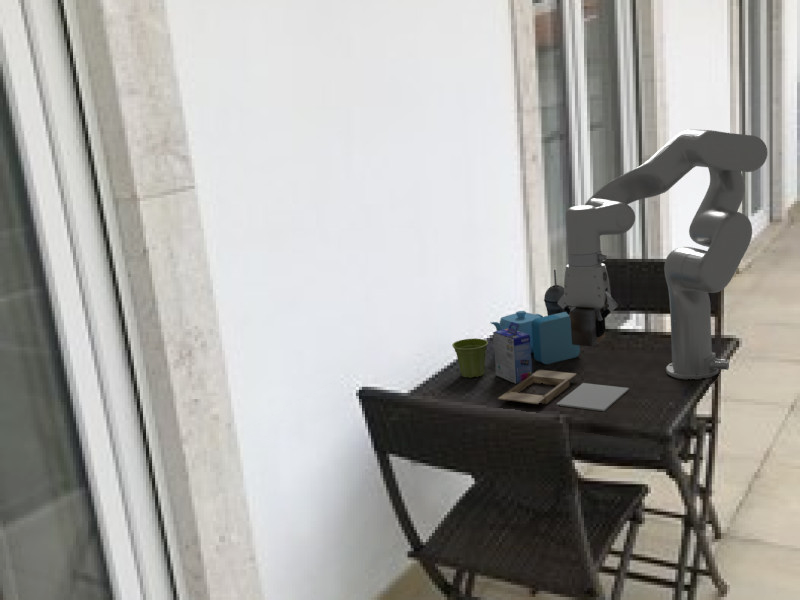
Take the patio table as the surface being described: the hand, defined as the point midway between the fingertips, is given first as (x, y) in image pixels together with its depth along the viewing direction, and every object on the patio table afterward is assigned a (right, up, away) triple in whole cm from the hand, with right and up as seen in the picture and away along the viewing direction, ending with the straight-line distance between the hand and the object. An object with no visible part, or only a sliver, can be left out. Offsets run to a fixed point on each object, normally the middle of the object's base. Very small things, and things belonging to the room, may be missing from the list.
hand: (588, 333), depth 228 cm
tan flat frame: (-10, -15, +11) cm, 21 cm away
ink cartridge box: (-15, -13, +24) cm, 31 cm away
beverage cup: (+2, -3, +53) cm, 54 cm away
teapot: (-11, -7, +45) cm, 46 cm away
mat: (+2, -15, +4) cm, 16 cm away
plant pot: (-25, -12, +30) cm, 41 cm away
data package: (-2, -8, +35) cm, 36 cm away
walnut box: (0, -2, 0) cm, 2 cm away
